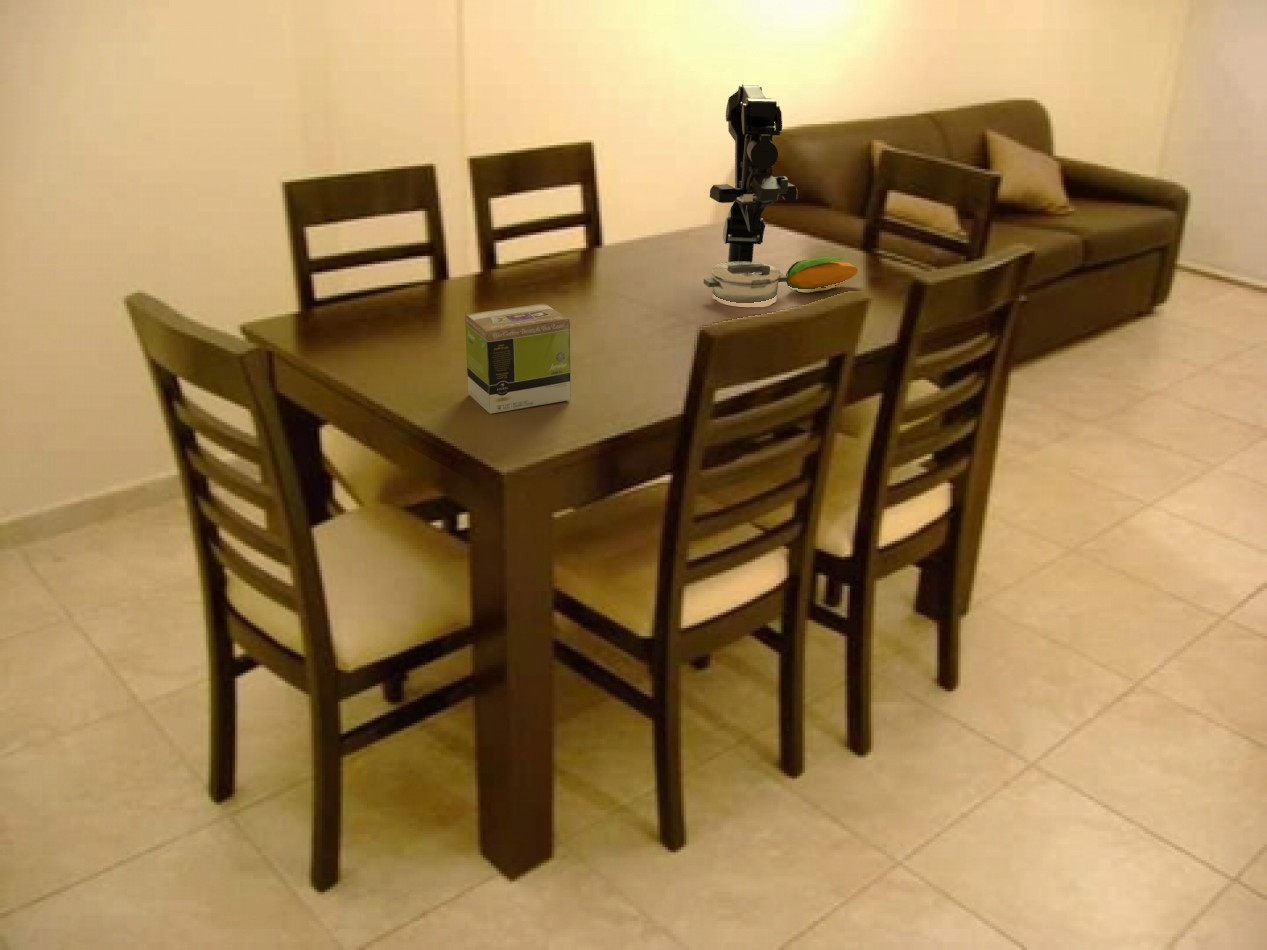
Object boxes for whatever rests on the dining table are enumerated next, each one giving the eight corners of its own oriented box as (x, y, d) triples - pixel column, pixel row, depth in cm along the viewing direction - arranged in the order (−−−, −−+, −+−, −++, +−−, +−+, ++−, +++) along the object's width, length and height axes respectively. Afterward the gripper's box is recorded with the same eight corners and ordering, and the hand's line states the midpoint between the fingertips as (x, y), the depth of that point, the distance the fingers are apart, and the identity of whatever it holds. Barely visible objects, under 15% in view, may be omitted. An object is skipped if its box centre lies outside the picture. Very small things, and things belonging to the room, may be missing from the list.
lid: (701, 268, 261) (702, 256, 260) (762, 264, 266) (763, 252, 265) (729, 287, 248) (730, 275, 247) (793, 282, 253) (794, 270, 252)
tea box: (546, 382, 211) (547, 301, 204) (571, 402, 203) (572, 318, 196) (466, 394, 204) (464, 311, 198) (488, 416, 196) (486, 329, 190)
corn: (779, 256, 262) (847, 246, 272) (774, 289, 266) (842, 278, 276) (800, 267, 257) (869, 257, 267) (795, 301, 260) (864, 289, 270)
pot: (692, 291, 262) (694, 269, 260) (768, 286, 268) (770, 264, 266) (718, 311, 251) (720, 287, 248) (796, 304, 257) (799, 281, 254)
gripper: (732, 168, 247) (727, 243, 254) (812, 165, 253) (805, 238, 260) (711, 158, 257) (706, 230, 263) (789, 155, 263) (782, 225, 269)
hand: (750, 231), depth 264 cm, fingers closed
